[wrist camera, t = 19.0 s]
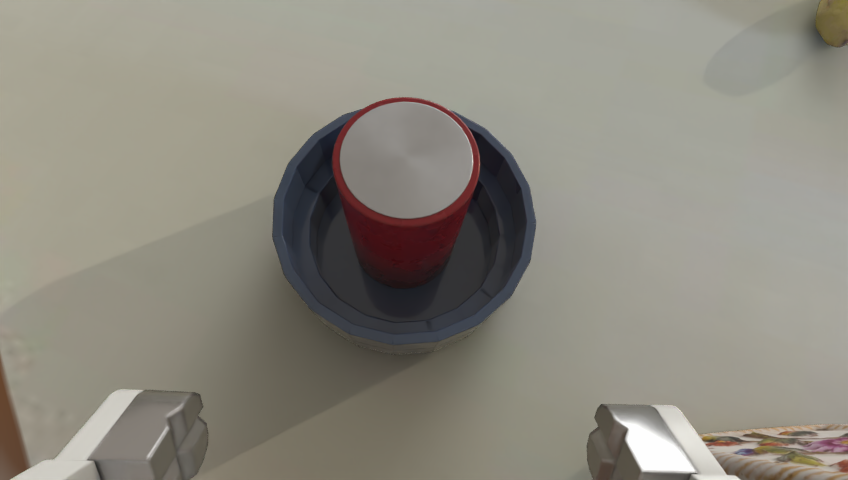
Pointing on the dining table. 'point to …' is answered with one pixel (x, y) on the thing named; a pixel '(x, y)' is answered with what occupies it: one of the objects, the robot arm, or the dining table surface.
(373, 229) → the can
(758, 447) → the decorative jar
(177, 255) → the dining table surface
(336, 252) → the bowl
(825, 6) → the fruit
